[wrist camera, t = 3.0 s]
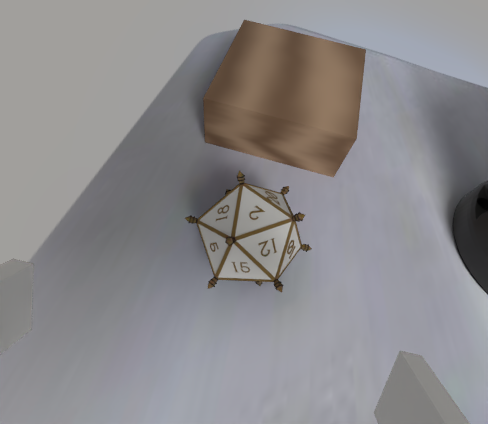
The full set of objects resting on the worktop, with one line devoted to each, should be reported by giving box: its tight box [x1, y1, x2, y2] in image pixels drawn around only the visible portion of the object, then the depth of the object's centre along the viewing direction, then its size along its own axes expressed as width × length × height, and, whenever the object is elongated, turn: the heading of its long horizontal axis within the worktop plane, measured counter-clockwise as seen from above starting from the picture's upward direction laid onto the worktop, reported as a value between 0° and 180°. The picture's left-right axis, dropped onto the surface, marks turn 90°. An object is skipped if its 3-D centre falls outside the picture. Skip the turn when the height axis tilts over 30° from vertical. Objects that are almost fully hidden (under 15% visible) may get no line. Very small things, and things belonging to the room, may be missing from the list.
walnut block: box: [203, 20, 366, 177], centre depth 32 cm, size 14×14×6 cm
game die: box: [185, 171, 311, 292], centre depth 22 cm, size 9×8×10 cm
